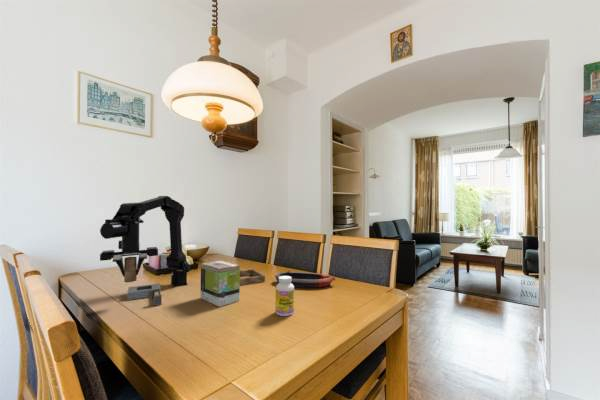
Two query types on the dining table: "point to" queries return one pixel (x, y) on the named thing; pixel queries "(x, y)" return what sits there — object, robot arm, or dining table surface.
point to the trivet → (250, 280)
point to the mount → (142, 291)
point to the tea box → (220, 282)
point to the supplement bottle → (285, 296)
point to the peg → (130, 269)
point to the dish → (307, 279)
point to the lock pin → (157, 298)
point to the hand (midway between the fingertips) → (130, 275)
